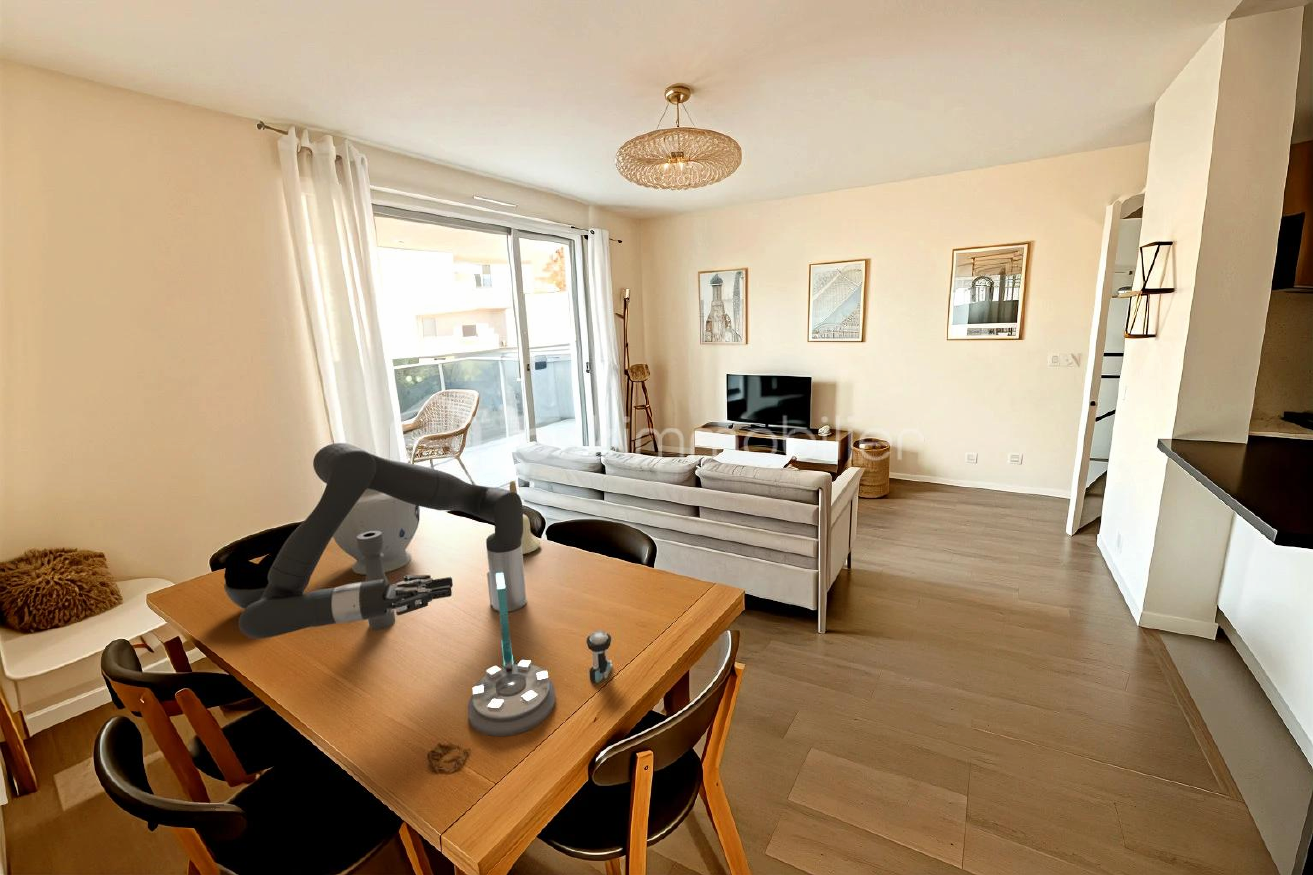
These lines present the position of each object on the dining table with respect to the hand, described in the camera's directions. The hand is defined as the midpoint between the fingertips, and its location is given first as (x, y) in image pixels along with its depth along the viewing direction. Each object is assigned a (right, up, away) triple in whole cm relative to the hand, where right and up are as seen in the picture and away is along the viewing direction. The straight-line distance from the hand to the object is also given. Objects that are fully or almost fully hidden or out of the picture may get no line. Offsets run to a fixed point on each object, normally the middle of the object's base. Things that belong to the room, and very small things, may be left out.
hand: (451, 586), depth 114 cm
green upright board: (+13, -20, 0) cm, 23 cm away
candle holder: (-29, -18, +28) cm, 44 cm away
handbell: (-4, -8, +73) cm, 73 cm away
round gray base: (+14, -23, -5) cm, 28 cm away
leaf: (+7, -27, -18) cm, 33 cm away
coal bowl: (-65, -17, +38) cm, 77 cm away
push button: (+32, -21, +4) cm, 38 cm away
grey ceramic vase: (-48, -11, +65) cm, 81 cm away
